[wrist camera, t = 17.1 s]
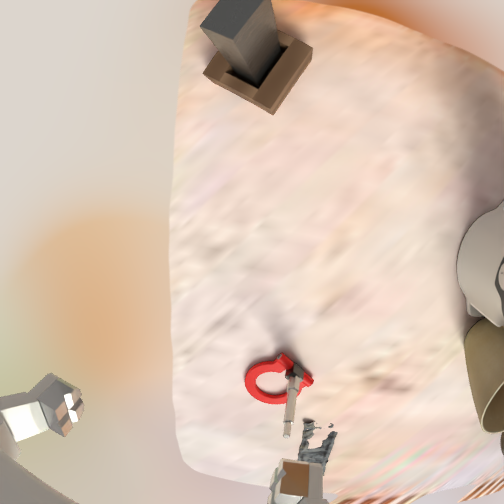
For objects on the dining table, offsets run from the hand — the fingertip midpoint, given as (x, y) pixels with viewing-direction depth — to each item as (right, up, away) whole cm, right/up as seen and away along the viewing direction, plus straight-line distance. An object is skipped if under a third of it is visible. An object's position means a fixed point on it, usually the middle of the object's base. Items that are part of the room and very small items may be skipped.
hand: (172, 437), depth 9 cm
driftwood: (+16, -33, +41) cm, 55 cm away
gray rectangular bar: (+4, +29, +23) cm, 37 cm away
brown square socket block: (+4, +29, +23) cm, 38 cm away
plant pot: (+41, -7, +29) cm, 50 cm away
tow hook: (+7, -13, +36) cm, 39 cm away
